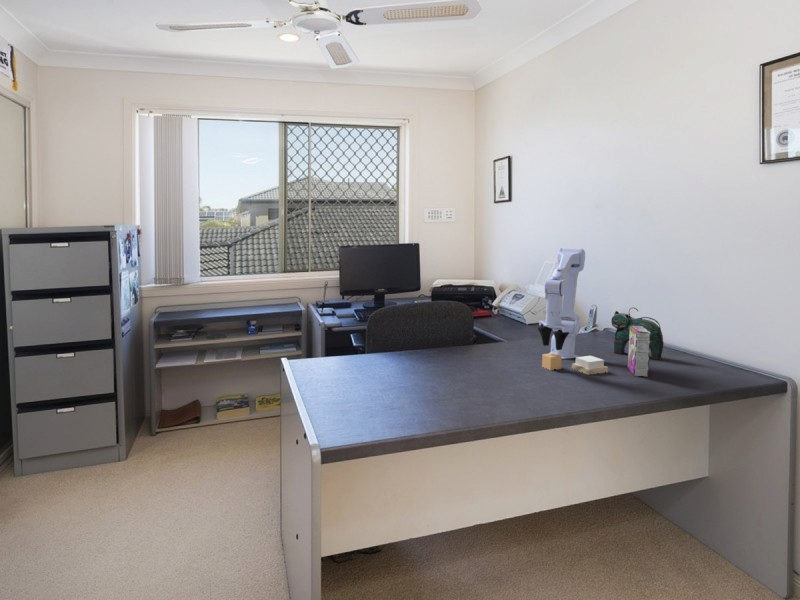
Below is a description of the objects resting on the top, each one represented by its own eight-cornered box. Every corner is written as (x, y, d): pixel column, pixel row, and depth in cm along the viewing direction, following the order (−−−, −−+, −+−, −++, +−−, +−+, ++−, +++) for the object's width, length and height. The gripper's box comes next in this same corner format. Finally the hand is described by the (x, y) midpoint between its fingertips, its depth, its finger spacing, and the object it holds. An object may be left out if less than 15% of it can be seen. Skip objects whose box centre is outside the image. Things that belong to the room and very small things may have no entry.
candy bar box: (626, 368, 197) (629, 325, 195) (640, 368, 196) (643, 325, 194) (633, 376, 186) (636, 331, 184) (648, 377, 185) (651, 332, 183)
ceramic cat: (608, 353, 220) (611, 306, 217) (614, 350, 224) (616, 304, 221) (659, 361, 207) (663, 311, 204) (664, 357, 212) (667, 309, 209)
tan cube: (541, 367, 199) (542, 354, 198) (552, 365, 201) (553, 353, 200) (550, 370, 194) (550, 357, 194) (561, 369, 196) (561, 356, 196)
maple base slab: (571, 369, 197) (572, 363, 196) (590, 367, 200) (590, 361, 200) (588, 376, 189) (588, 369, 188) (607, 373, 192) (608, 367, 192)
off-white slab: (575, 363, 196) (575, 357, 196) (590, 361, 199) (590, 355, 198) (588, 368, 190) (588, 362, 189) (603, 366, 192) (604, 360, 192)
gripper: (533, 309, 200) (531, 344, 202) (557, 315, 186) (556, 352, 188) (548, 308, 202) (546, 342, 204) (573, 314, 189) (571, 351, 191)
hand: (552, 347), depth 196 cm, fingers open, 7 cm apart
